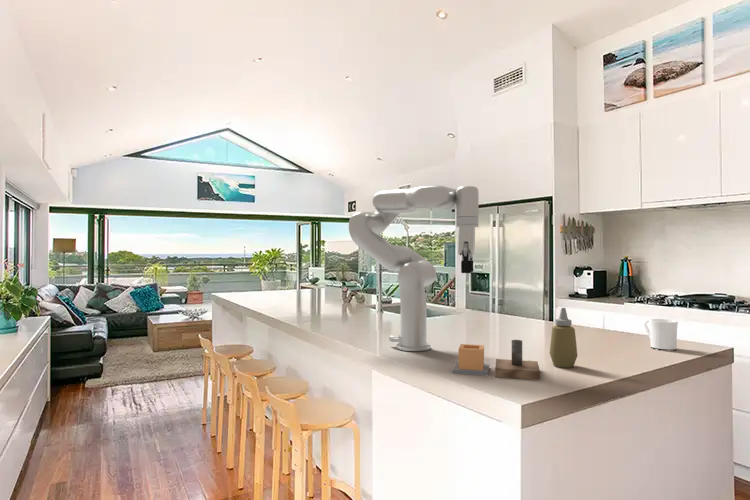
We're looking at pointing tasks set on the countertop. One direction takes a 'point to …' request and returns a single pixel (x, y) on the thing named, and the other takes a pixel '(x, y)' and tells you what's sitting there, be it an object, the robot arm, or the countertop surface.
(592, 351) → the countertop surface
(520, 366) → the stand
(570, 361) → the squeeze bottle
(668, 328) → the mug
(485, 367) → the pad
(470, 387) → the countertop surface
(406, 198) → the robot arm
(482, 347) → the collar
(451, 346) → the countertop surface
